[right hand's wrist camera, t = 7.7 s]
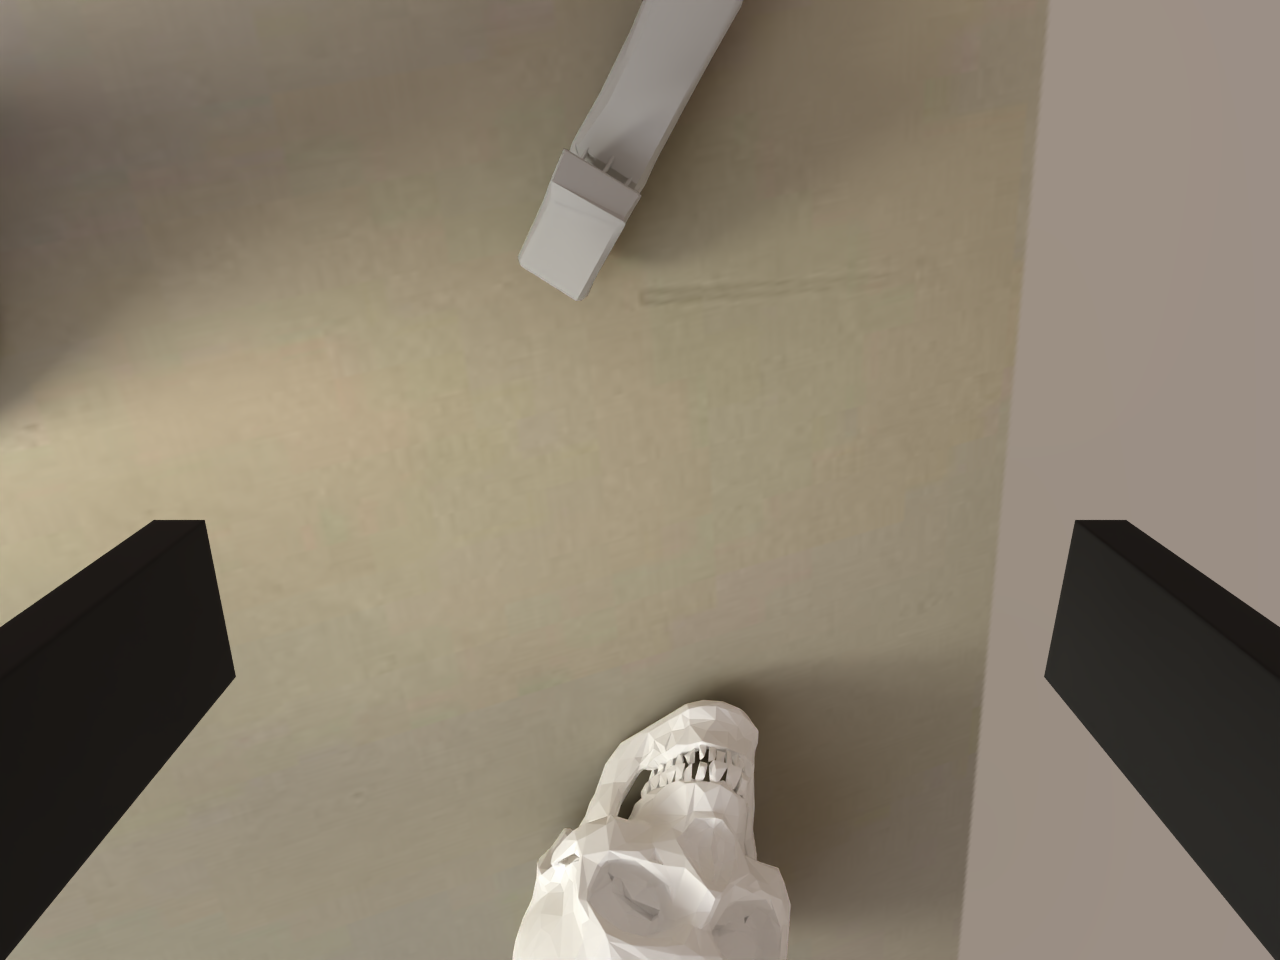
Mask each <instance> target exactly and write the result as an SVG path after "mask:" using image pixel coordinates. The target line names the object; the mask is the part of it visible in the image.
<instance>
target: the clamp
mask: <svg viewBox="0 0 1280 960" xmlns="http://www.w3.org/2000/svg"><path fill="white" fill-rule="evenodd" d="M742 3H743V0H643V1H642V4H641V6H640V8H639V11H638V13H637V15H636V18H635V20H634V23H633V25H632V27H631V30H630V32H629V34H628V36H627V38H626V40H625V42H624V44H623V46H622V48H621V50H620V52H619V54H618V57H617V59H616V61H615V63H614V65H613V67H612V69H611V71H610V73H609V75H608V77H607V79H606V81H605V83H604V85H603V87H602V89H601V92H600V93H599V95H598V97H597V99H596V100H595V102H594V104H593V106H592V108H591V109H590V111H589V113H588V115H587V116H586V118H585V120H584V122H583V124H582V125H581V127H580V129H579V131H578V132H577V134H576V136H575V138H574V140H573V141H572V144H571V148H570V151H568V150H567V149H563V151H562V154H561V156H560V159H559V161H558V163H557V166H556V168H555V171H554V173H553V176H552V178H551V180H550V183H549V186H548V188H547V191H546V194H545V197H544V199H543V202H542V204H541V206H540V208H539V211H538V213H537V215H536V217H535V219H534V222H533V224H532V226H531V228H530V230H529V233H528V235H527V237H526V239H525V242H524V244H523V246H522V248H521V250H520V253H519V255H518V260H519V263H520V265H521V266H522V267H523V268H525V269H526V270H528V271H529V272H531V273H533V274H534V275H536V276H538V277H539V278H541V279H542V280H544V281H545V282H547V283H549V284H550V285H552V286H553V287H555V288H556V289H558V290H560V291H561V292H563V293H564V294H566V295H567V296H569V297H571V298H572V299H574V300H575V301H578V300H583V299H584V298H585V297H586V296H588V293H589V291H590V289H591V287H592V285H593V283H594V281H595V278H596V276H597V274H598V272H599V271H600V269H601V267H602V265H603V264H604V262H605V260H606V258H607V257H608V255H609V253H610V251H611V250H612V248H613V246H614V244H615V242H616V241H617V239H618V237H619V235H620V234H621V232H622V230H623V228H624V226H625V224H626V222H627V220H628V218H629V217H630V215H631V213H632V212H633V210H634V208H635V206H636V205H637V203H638V201H639V200H640V198H641V195H640V192H641V191H642V189H643V188H644V186H645V185H646V182H647V180H648V178H649V176H650V174H651V171H652V169H653V167H654V165H655V163H656V160H657V158H658V156H659V155H660V153H661V151H662V149H663V147H664V145H665V144H666V142H667V140H668V138H669V136H670V134H671V132H672V131H673V129H674V127H675V125H676V123H677V121H678V119H679V118H680V116H681V114H682V112H683V110H684V108H685V106H686V104H687V103H688V101H689V99H690V97H691V95H692V93H693V92H694V90H695V88H696V86H697V84H698V82H699V81H700V79H701V77H702V75H703V73H704V72H705V70H706V68H707V66H708V64H709V62H710V61H711V59H712V57H713V55H714V54H715V52H716V50H717V48H718V47H719V45H720V43H721V41H722V39H723V38H724V36H725V34H726V32H727V31H728V29H729V27H730V25H731V24H732V22H733V20H734V18H735V17H736V15H737V13H738V11H739V10H740V8H741V6H742Z"/></svg>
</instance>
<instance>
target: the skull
mask: <svg viewBox="0 0 1280 960" xmlns="http://www.w3.org/2000/svg"><path fill="white" fill-rule="evenodd" d="M758 732H759V731H758V730H757V728H756V727H755V726H754V724H753V723H752V721H751V720H750V718H749V717H748V715H747V714H746V713H745V712H744V711H743V710H741V709H740V708H738V707H735V706H733V705H731V704H728V703H726V702H723V701H712V700H700V701H696V702H691V703H687V704H685V705H683V706H681V707H680V708H678V709H677V710H675V711H673V712H672V713H670V714H668V715H667V716H665V717H663V718H662V719H660V720H658V721H657V722H655V723H653V724H652V725H650V726H648V727H647V728H645V729H643V730H642V731H640V732H638V733H636V734H635V735H633V736H631V737H630V738H628V739H626V740H625V741H623V742H621V743H620V744H619V746H618V747H617V749H616V750H615V751H614V753H613V754H612V756H611V757H610V758H609V760H608V761H607V763H606V764H605V767H604V769H603V772H602V775H601V778H600V780H599V783H598V786H597V789H596V792H595V794H594V796H593V798H592V800H591V801H590V803H589V806H588V809H587V812H586V815H585V817H584V819H583V820H582V822H581V824H580V825H579V827H578V828H576V829H575V830H572V829H570V828H564V829H563V831H562V832H561V834H560V835H559V836H558V838H557V839H556V841H555V842H554V843H553V845H552V846H551V847H550V848H549V849H548V850H547V851H546V852H545V853H544V854H543V855H542V856H541V857H540V858H539V860H538V862H537V878H536V883H535V888H534V892H533V897H532V900H531V902H530V904H529V906H528V908H527V911H526V913H525V915H524V917H523V920H522V923H521V925H520V928H519V931H518V934H517V937H516V941H515V946H514V952H513V960H786V958H787V947H788V935H789V923H790V909H791V904H790V900H789V897H788V893H787V890H786V886H785V883H784V880H783V878H782V876H781V873H780V871H779V868H778V867H774V866H771V865H768V864H765V863H762V862H759V861H757V853H756V846H755V840H754V833H753V822H754V811H755V800H754V757H755V750H756V747H757V744H758ZM706 749H709V759H708V762H710V761H712V760H713V761H712V762H711V764H710V765H709V776H710V782H706V781H703V779H704V777H705V774H706V770H707V763H705V762H701V761H700V763H699V767H698V770H697V774H696V777H695V779H692V764H693V763H695V752H697V751H699V759H702V758H703V757H704V756H705V753H706ZM716 750H717V755H716ZM721 751H722V752H721ZM684 755H685V758H686V760H687V763H688V767H687V768H686V769H685V763H683V762H684V758H683V756H684ZM715 758H716V760H715ZM724 758H726V763H724ZM732 762H733V765H732ZM684 769H685V771H684ZM726 769H727V774H726V780H725V781H720V779H721V778H722V776H723V774H724V772H725V771H726ZM643 770H652V771H651V775H650V778H649V781H648V782H647V783H646V784H645V786H644V787H643V789H642V791H641V799H640V800H639V801H638V802H636V803H635V805H634V807H633V810H632V813H631V815H630V817H629V818H628V820H627V819H624V818H620V817H618V813H619V809H620V806H621V804H622V802H623V801H624V799H625V797H626V796H627V794H628V792H629V790H630V789H631V787H632V785H633V783H634V782H635V780H636V778H637V777H638V775H639V774H640V773H641V772H642V771H643ZM657 770H658V772H657ZM674 778H675V782H673V780H674ZM683 778H684V779H683Z"/></svg>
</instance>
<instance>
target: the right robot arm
mask: <svg viewBox="0 0 1280 960" xmlns="http://www.w3.org/2000/svg"><path fill="white" fill-rule="evenodd" d="M235 677H236V675H235V670H234V665H233V660H232V655H231V650H230V645H229V640H228V635H227V630H226V625H225V620H224V615H223V610H222V605H221V600H220V595H219V590H218V585H217V580H216V575H215V569H214V564H213V559H212V554H211V549H210V544H209V539H208V534H207V529H206V524H205V520H153V521H152V522H150V523H149V524H148V525H146V526H145V527H143V528H142V529H140V530H139V531H138V532H136V533H135V534H133V535H132V536H130V537H129V538H128V539H126V540H125V541H123V542H122V543H120V544H119V545H117V546H116V547H115V548H113V549H112V550H110V551H109V552H107V553H106V554H105V555H103V556H102V557H100V558H99V559H97V560H96V561H95V562H93V563H92V564H90V565H89V566H87V567H86V568H84V569H83V570H82V571H80V572H79V573H77V574H76V575H74V576H73V577H72V578H70V579H69V580H67V581H66V582H64V583H63V584H62V585H60V586H59V587H57V588H56V589H54V590H53V591H51V592H50V593H49V594H47V595H46V596H44V597H43V598H41V599H40V600H39V601H37V602H36V603H34V604H33V605H31V606H30V607H29V608H27V609H26V610H24V611H23V612H21V613H20V614H19V615H17V616H16V617H14V618H13V619H11V620H10V621H8V622H7V623H6V624H4V625H3V626H1V627H0V960H5V959H6V958H7V957H8V955H9V954H10V953H11V952H12V950H13V949H14V948H15V947H16V946H17V944H18V943H19V942H20V941H21V939H22V938H23V937H24V936H25V935H26V933H27V932H28V931H29V930H30V928H31V927H32V926H33V925H34V923H35V922H36V921H37V920H38V919H39V917H40V916H41V915H42V914H43V912H44V911H45V910H46V909H47V908H48V906H49V905H50V904H51V903H52V901H53V900H54V899H55V898H56V897H57V895H58V894H59V893H60V892H61V890H62V889H63V888H64V887H65V885H66V884H67V883H68V882H69V881H70V879H71V878H72V877H73V876H74V874H75V873H76V872H77V871H78V870H79V868H80V867H81V866H82V865H83V863H84V862H85V861H86V860H87V859H88V857H89V856H90V855H91V854H92V852H93V851H94V850H95V849H96V847H97V846H98V845H99V844H100V843H101V841H102V840H103V839H104V838H105V836H106V835H107V834H108V833H109V832H110V830H111V829H112V828H113V827H114V825H115V824H116V823H117V822H118V821H119V819H120V818H121V817H122V816H123V814H124V813H125V812H126V811H127V809H128V808H129V807H130V806H131V805H132V803H133V802H134V801H135V800H136V798H137V797H138V796H139V795H140V794H141V792H142V791H143V790H144V789H145V787H146V786H147V785H148V784H149V782H150V781H151V780H152V779H153V778H154V776H155V775H156V774H157V773H158V771H159V770H160V769H161V768H162V767H163V765H164V764H165V763H166V762H167V760H168V759H169V758H170V757H171V756H172V754H173V753H174V752H175V751H176V749H177V748H178V747H179V746H180V744H181V743H182V742H183V741H184V740H185V738H186V737H187V736H188V735H189V733H190V732H191V731H192V730H193V729H194V727H195V726H196V725H197V724H198V722H199V721H200V720H201V719H202V718H203V716H204V715H205V714H206V713H207V711H208V710H209V709H210V708H211V706H212V705H213V704H214V703H215V702H216V700H217V699H218V698H219V697H220V695H221V694H222V693H223V692H224V691H225V689H226V688H227V687H228V686H229V684H230V683H231V682H232V681H233V680H234V678H235ZM1044 677H1045V678H1046V680H1047V681H1048V682H1049V683H1050V684H1051V686H1052V687H1053V688H1054V689H1055V691H1056V692H1057V693H1058V694H1059V695H1060V697H1061V698H1062V699H1063V700H1064V702H1065V703H1066V704H1067V705H1068V706H1069V708H1070V709H1071V710H1072V711H1073V713H1074V714H1075V715H1076V716H1077V718H1078V719H1079V720H1080V721H1081V722H1082V724H1083V725H1084V726H1085V727H1086V729H1087V730H1088V731H1089V732H1090V733H1091V735H1092V736H1093V737H1094V738H1095V740H1096V741H1097V742H1098V743H1099V744H1100V746H1101V747H1102V748H1103V749H1104V751H1105V752H1106V753H1107V754H1108V756H1109V757H1110V758H1111V759H1112V760H1113V762H1114V763H1115V764H1116V765H1117V767H1118V768H1119V769H1120V770H1121V771H1122V773H1123V774H1124V775H1125V776H1126V778H1127V779H1128V780H1129V781H1130V782H1131V784H1132V785H1133V786H1134V787H1135V789H1136V790H1137V791H1138V792H1139V794H1140V795H1141V796H1142V797H1143V798H1144V800H1145V801H1146V802H1147V803H1148V805H1149V806H1150V807H1151V808H1152V809H1153V811H1154V812H1155V813H1156V814H1157V816H1158V817H1159V818H1160V819H1161V821H1162V822H1163V823H1164V824H1165V825H1166V827H1167V828H1168V829H1169V830H1170V832H1171V833H1172V834H1173V835H1174V836H1175V838H1176V839H1177V840H1178V841H1179V843H1180V844H1181V845H1182V846H1183V847H1184V849H1185V850H1186V851H1187V852H1188V854H1189V855H1190V856H1191V857H1192V858H1193V860H1194V861H1195V862H1196V863H1197V865H1198V866H1199V867H1200V868H1201V870H1202V871H1203V872H1204V873H1205V874H1206V876H1207V877H1208V878H1209V879H1210V881H1211V882H1212V883H1213V884H1214V885H1215V887H1216V888H1217V889H1218V890H1219V892H1220V893H1221V894H1222V895H1223V897H1224V898H1225V899H1226V900H1227V901H1228V903H1229V904H1230V905H1231V906H1232V908H1233V909H1234V910H1235V911H1236V912H1237V914H1238V915H1239V916H1240V917H1241V919H1242V920H1243V921H1244V922H1245V923H1246V925H1247V926H1248V927H1249V928H1250V930H1251V931H1252V932H1253V933H1254V935H1255V936H1256V937H1257V938H1258V939H1259V941H1260V942H1261V943H1262V944H1263V946H1264V947H1265V948H1266V949H1267V950H1268V952H1269V953H1270V954H1271V955H1272V957H1273V958H1274V959H1275V960H1280V627H1279V626H1277V625H1276V624H1274V623H1273V622H1271V621H1270V620H1269V619H1267V618H1266V617H1264V616H1263V615H1261V614H1260V613H1259V612H1257V611H1256V610H1254V609H1253V608H1251V607H1250V606H1249V605H1247V604H1246V603H1244V602H1243V601H1241V600H1240V599H1239V598H1237V597H1236V596H1234V595H1233V594H1231V593H1230V592H1228V591H1227V590H1226V589H1224V588H1223V587H1221V586H1220V585H1218V584H1217V583H1216V582H1214V581H1213V580H1211V579H1210V578H1208V577H1207V576H1206V575H1204V574H1203V573H1201V572H1200V571H1198V570H1197V569H1196V568H1194V567H1193V566H1191V565H1190V564H1188V563H1187V562H1185V561H1184V560H1183V559H1181V558H1180V557H1178V556H1177V555H1175V554H1174V553H1173V552H1171V551H1170V550H1168V549H1167V548H1165V547H1164V546H1162V545H1161V544H1160V543H1158V542H1157V541H1155V540H1154V539H1152V538H1151V537H1150V536H1148V535H1147V534H1145V533H1144V532H1142V531H1141V530H1140V529H1138V528H1137V527H1135V526H1134V525H1132V524H1131V523H1130V522H1128V521H1127V520H1075V524H1074V529H1073V534H1072V539H1071V544H1070V549H1069V554H1068V560H1067V564H1066V570H1065V574H1064V580H1063V585H1062V590H1061V595H1060V600H1059V605H1058V610H1057V615H1056V620H1055V625H1054V630H1053V635H1052V640H1051V645H1050V650H1049V655H1048V660H1047V665H1046V670H1045V675H1044Z"/></svg>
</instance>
